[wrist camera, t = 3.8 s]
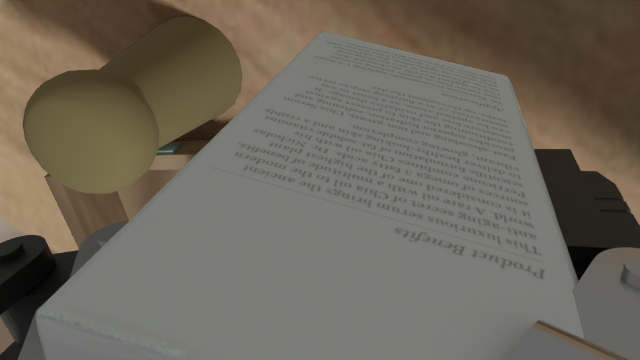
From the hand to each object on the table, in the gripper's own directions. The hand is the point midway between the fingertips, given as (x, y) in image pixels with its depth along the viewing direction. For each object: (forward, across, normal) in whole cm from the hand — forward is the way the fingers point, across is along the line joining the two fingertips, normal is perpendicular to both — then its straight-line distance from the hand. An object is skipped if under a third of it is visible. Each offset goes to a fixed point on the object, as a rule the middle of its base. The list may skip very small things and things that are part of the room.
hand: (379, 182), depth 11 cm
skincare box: (+5, 0, 0) cm, 5 cm away
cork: (+14, +13, +1) cm, 19 cm away
